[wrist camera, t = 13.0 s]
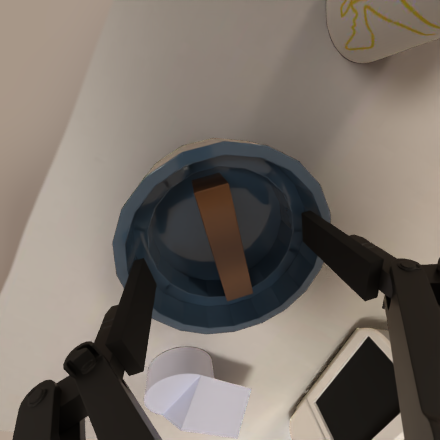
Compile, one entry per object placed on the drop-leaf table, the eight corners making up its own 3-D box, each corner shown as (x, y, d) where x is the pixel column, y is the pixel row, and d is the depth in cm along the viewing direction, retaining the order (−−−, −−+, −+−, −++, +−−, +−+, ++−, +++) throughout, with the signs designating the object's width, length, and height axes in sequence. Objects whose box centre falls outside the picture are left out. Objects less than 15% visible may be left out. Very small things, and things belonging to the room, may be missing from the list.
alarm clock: (358, 313, 31) (451, 410, 20) (401, 319, 34) (502, 408, 23) (282, 416, 40) (319, 520, 30) (320, 414, 43) (366, 510, 32)
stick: (191, 180, 18) (193, 192, 15) (219, 172, 18) (228, 182, 15) (220, 274, 23) (227, 302, 19) (242, 267, 23) (253, 293, 19)
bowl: (100, 165, 17) (63, 182, 12) (287, 117, 18) (332, 113, 13) (166, 304, 24) (161, 355, 19) (298, 265, 25) (330, 302, 20)
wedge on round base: (244, 363, 31) (170, 339, 27) (260, 419, 25) (167, 401, 21) (210, 397, 34) (135, 380, 29) (216, 456, 27) (123, 447, 23)
